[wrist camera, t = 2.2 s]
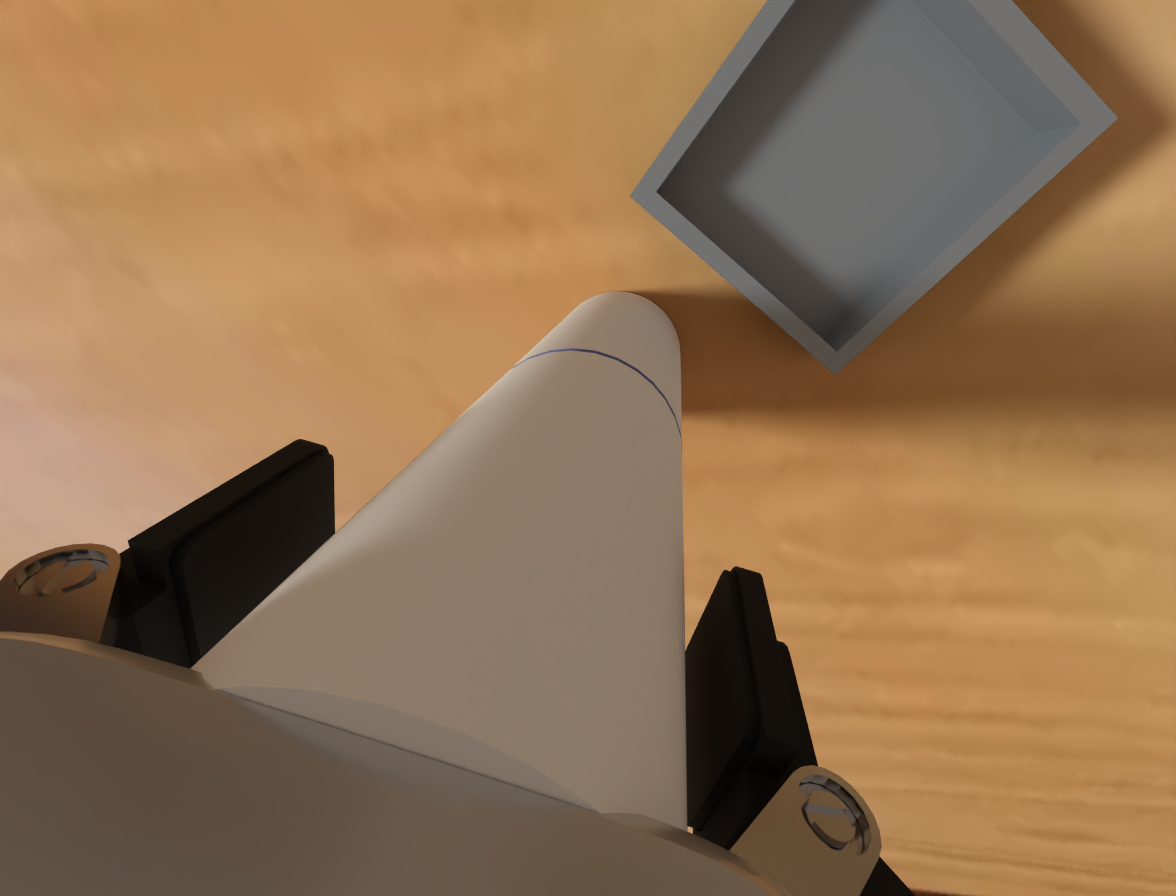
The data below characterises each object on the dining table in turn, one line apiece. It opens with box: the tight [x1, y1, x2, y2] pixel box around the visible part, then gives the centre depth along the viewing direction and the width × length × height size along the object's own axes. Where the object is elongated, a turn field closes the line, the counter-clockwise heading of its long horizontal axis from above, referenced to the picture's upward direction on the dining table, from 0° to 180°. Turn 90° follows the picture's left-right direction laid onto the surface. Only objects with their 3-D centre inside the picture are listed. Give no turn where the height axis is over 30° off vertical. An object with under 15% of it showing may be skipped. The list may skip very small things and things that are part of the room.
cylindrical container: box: [191, 291, 687, 831], centre depth 17 cm, size 7×7×25 cm
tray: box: [630, 0, 1118, 375], centre depth 21 cm, size 13×13×4 cm
